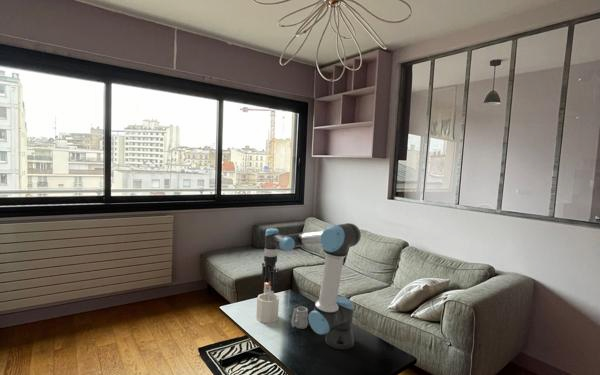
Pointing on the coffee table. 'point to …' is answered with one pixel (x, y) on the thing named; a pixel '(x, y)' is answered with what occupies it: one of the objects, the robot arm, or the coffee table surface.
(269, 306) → the octagonal white cup
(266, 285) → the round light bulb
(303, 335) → the coffee table surface
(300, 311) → the mug
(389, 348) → the coffee table surface
